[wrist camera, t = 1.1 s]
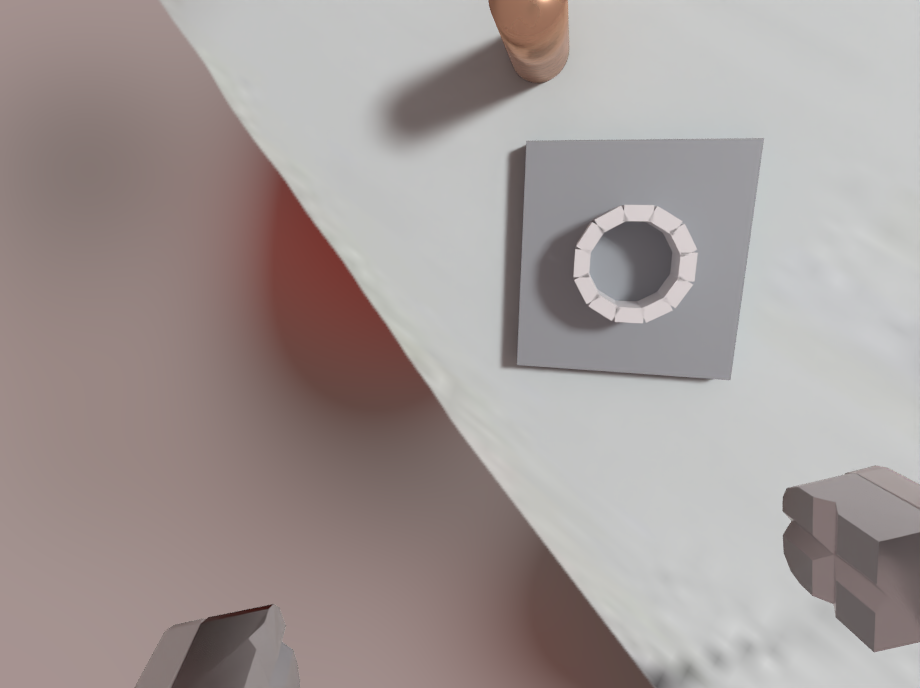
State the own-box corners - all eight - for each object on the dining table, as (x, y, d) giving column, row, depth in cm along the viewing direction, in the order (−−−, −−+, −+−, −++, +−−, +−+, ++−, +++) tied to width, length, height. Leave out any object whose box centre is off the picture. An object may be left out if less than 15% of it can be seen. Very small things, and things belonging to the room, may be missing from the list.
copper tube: (511, 20, 37) (489, -49, 27) (571, 17, 36) (569, -56, 27) (509, 83, 38) (487, 38, 28) (567, 81, 37) (564, 34, 27)
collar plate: (528, 143, 38) (522, 134, 34) (756, 141, 35) (781, 131, 31) (518, 359, 42) (512, 376, 38) (724, 374, 39) (743, 393, 35)
